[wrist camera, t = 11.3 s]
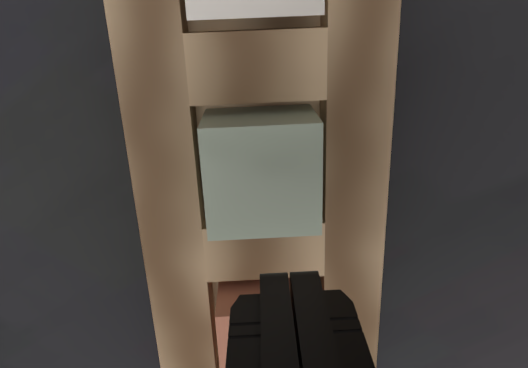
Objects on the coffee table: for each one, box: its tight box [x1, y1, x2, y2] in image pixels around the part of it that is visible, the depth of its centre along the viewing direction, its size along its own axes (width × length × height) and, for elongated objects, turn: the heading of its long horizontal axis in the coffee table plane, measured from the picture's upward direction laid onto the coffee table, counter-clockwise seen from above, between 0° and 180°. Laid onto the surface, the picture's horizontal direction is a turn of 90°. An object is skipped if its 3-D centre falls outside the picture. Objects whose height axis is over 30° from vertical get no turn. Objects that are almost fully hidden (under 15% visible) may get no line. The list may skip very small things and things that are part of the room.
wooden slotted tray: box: [103, 0, 401, 368], centre depth 21 cm, size 12×28×2 cm, turn 2°
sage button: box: [197, 104, 323, 241], centre depth 20 cm, size 5×5×4 cm
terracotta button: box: [215, 278, 290, 368], centre depth 23 cm, size 5×5×4 cm
